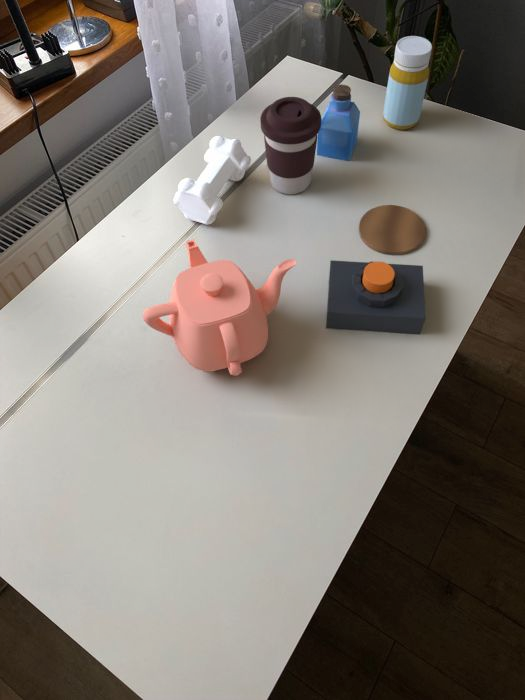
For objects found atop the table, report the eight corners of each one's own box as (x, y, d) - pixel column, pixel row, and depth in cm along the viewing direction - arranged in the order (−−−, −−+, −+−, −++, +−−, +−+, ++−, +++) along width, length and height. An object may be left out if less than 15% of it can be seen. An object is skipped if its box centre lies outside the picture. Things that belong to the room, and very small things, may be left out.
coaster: (423, 209, 104) (424, 206, 103) (426, 257, 98) (427, 254, 97) (359, 206, 105) (359, 203, 104) (358, 253, 99) (358, 250, 98)
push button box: (417, 283, 95) (425, 257, 90) (420, 335, 90) (427, 310, 85) (328, 277, 96) (331, 252, 91) (325, 328, 91) (328, 304, 86)
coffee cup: (251, 180, 109) (247, 107, 97) (292, 156, 113) (293, 82, 100) (288, 209, 105) (288, 136, 93) (329, 183, 108) (334, 109, 96)
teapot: (197, 283, 97) (185, 223, 85) (296, 314, 93) (297, 254, 81) (150, 363, 89) (130, 308, 77) (255, 400, 85) (251, 348, 73)
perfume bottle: (316, 155, 113) (319, 97, 103) (325, 134, 116) (329, 76, 106) (349, 161, 111) (355, 103, 101) (356, 140, 115) (363, 82, 105)
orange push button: (392, 271, 89) (394, 262, 88) (392, 294, 87) (394, 285, 85) (362, 269, 90) (364, 260, 88) (362, 292, 87) (363, 283, 86)
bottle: (378, 127, 116) (390, 53, 104) (386, 106, 120) (398, 32, 107) (414, 134, 115) (430, 59, 102) (421, 112, 119) (437, 37, 106)
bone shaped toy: (218, 232, 103) (213, 196, 96) (174, 219, 105) (166, 182, 98) (254, 176, 110) (252, 139, 103) (212, 165, 112) (207, 128, 105)
